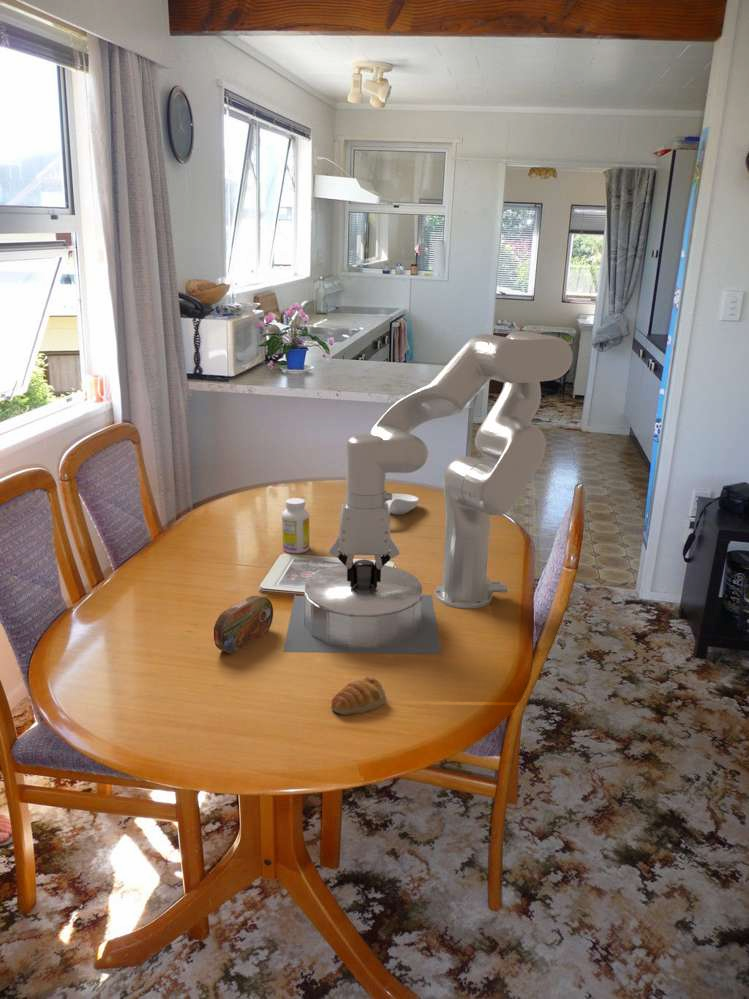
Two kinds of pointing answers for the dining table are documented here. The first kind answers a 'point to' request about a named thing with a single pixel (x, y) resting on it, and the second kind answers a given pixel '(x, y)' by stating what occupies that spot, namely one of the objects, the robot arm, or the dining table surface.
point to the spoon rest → (402, 503)
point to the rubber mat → (420, 644)
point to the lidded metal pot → (363, 607)
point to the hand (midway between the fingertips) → (363, 583)
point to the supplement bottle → (295, 526)
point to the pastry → (359, 697)
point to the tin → (243, 623)
